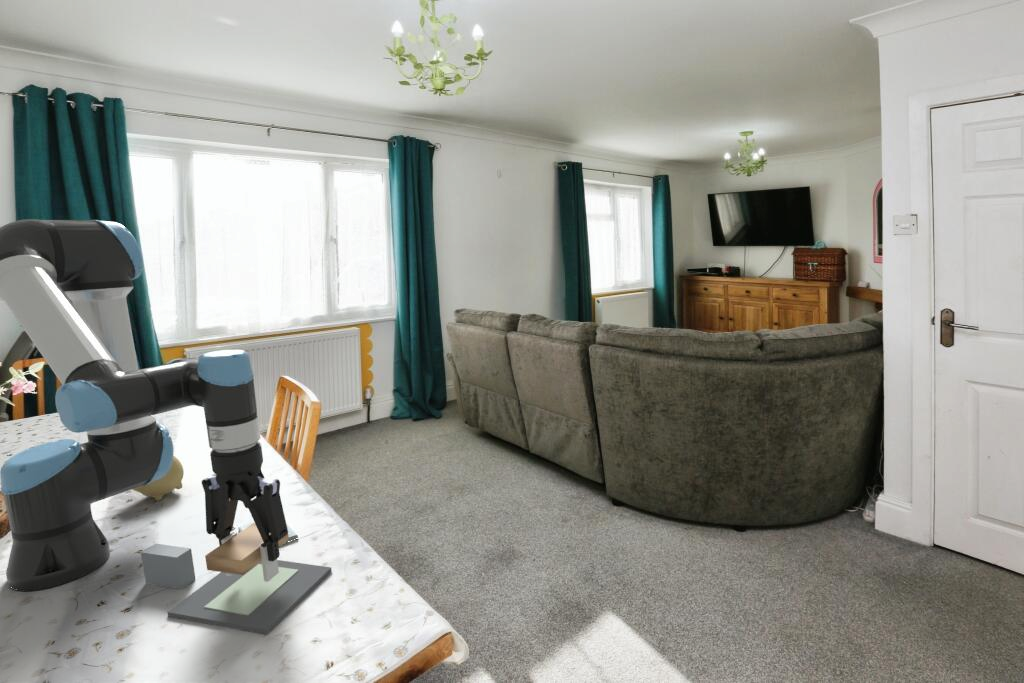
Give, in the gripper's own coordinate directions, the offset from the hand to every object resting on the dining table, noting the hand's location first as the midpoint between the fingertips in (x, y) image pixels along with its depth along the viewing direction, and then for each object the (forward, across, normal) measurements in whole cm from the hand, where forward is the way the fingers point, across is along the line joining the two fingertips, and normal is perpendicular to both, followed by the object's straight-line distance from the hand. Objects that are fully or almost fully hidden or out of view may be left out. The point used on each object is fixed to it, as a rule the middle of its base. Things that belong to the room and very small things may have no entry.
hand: (252, 573), depth 94 cm
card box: (-4, 0, 0) cm, 4 cm away
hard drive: (+4, -12, +17) cm, 21 cm away
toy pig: (+3, -52, +28) cm, 59 cm away
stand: (+3, -18, 0) cm, 18 cm away
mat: (+4, 0, 0) cm, 4 cm away
